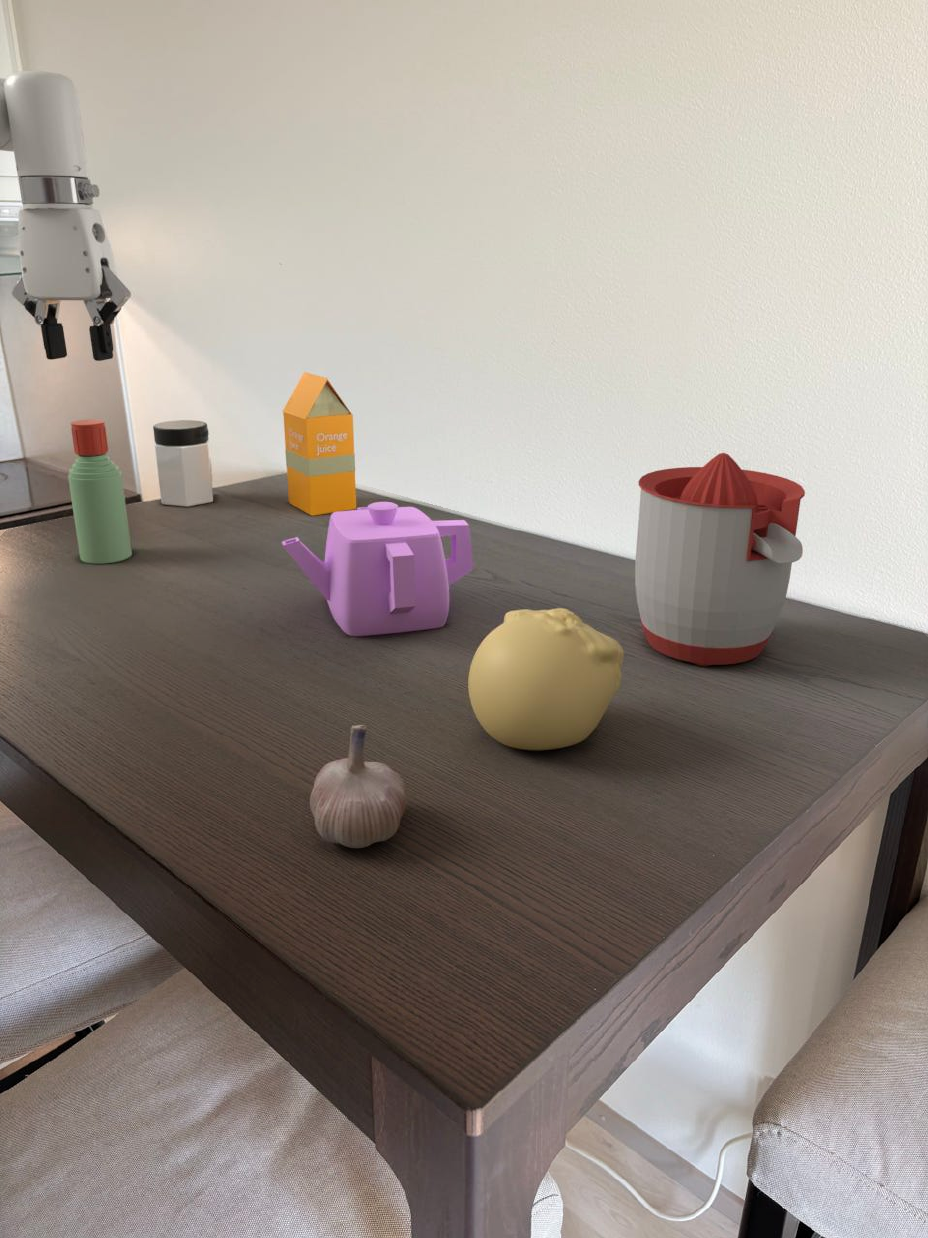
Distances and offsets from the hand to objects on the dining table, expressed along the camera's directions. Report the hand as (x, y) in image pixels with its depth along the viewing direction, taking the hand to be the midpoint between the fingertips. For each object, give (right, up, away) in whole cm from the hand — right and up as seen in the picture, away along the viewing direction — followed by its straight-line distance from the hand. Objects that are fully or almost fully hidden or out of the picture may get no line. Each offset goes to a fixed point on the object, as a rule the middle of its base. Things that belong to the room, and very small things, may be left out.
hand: (80, 357), depth 116 cm
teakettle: (+37, -31, -8) cm, 49 cm away
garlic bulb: (+39, -47, -48) cm, 78 cm away
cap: (0, -11, +4) cm, 12 cm away
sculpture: (+53, -41, -35) cm, 76 cm away
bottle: (0, -23, +9) cm, 25 cm away
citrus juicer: (+72, -35, -18) cm, 82 cm away
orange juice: (+24, -14, +34) cm, 44 cm away
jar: (+2, -13, +37) cm, 39 cm away
